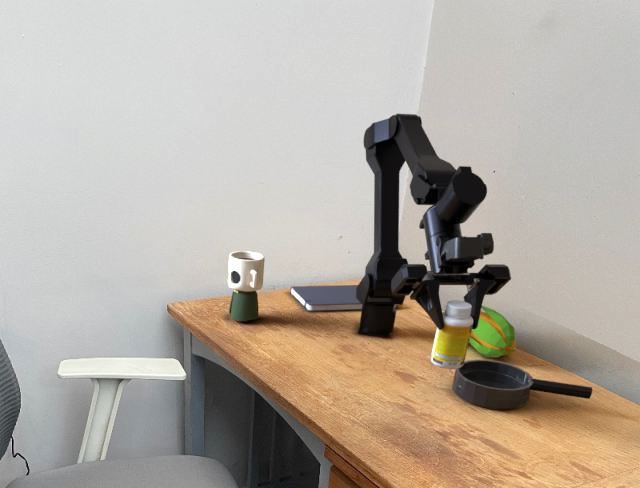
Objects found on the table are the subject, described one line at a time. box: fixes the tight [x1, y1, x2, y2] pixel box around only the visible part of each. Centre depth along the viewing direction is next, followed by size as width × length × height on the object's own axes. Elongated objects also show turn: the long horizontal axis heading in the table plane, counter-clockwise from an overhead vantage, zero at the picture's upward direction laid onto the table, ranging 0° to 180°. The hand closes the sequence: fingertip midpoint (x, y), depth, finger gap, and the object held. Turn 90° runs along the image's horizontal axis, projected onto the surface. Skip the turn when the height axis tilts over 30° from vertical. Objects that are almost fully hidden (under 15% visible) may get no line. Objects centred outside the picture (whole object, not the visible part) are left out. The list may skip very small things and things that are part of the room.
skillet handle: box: [531, 377, 593, 400], centre depth 134 cm, size 10×2×2 cm, turn 77°
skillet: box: [451, 359, 534, 411], centre depth 136 cm, size 13×13×4 cm
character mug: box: [227, 250, 266, 322], centre depth 158 cm, size 11×7×13 cm, turn 22°
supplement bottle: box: [430, 299, 473, 370], centre depth 127 cm, size 6×6×10 cm
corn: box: [469, 305, 517, 359], centre depth 155 cm, size 7×8×20 cm
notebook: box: [289, 284, 397, 312], centre depth 176 cm, size 13×2×21 cm
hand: (458, 328), depth 125 cm, fingers closed on supplement bottle, 5 cm apart
